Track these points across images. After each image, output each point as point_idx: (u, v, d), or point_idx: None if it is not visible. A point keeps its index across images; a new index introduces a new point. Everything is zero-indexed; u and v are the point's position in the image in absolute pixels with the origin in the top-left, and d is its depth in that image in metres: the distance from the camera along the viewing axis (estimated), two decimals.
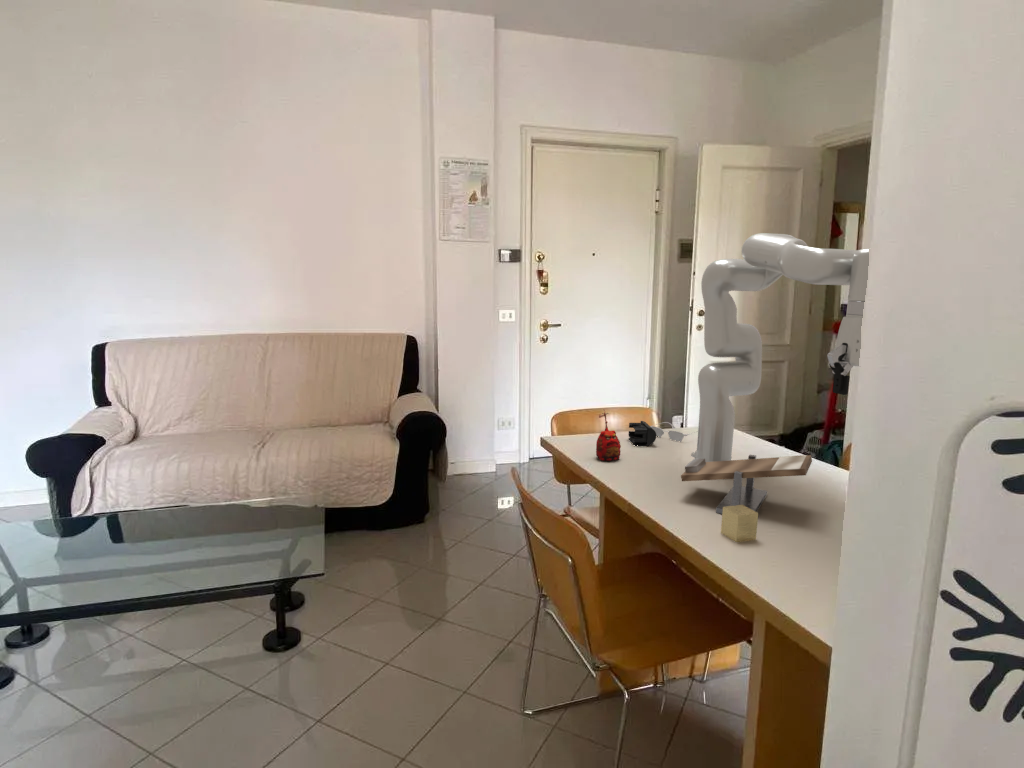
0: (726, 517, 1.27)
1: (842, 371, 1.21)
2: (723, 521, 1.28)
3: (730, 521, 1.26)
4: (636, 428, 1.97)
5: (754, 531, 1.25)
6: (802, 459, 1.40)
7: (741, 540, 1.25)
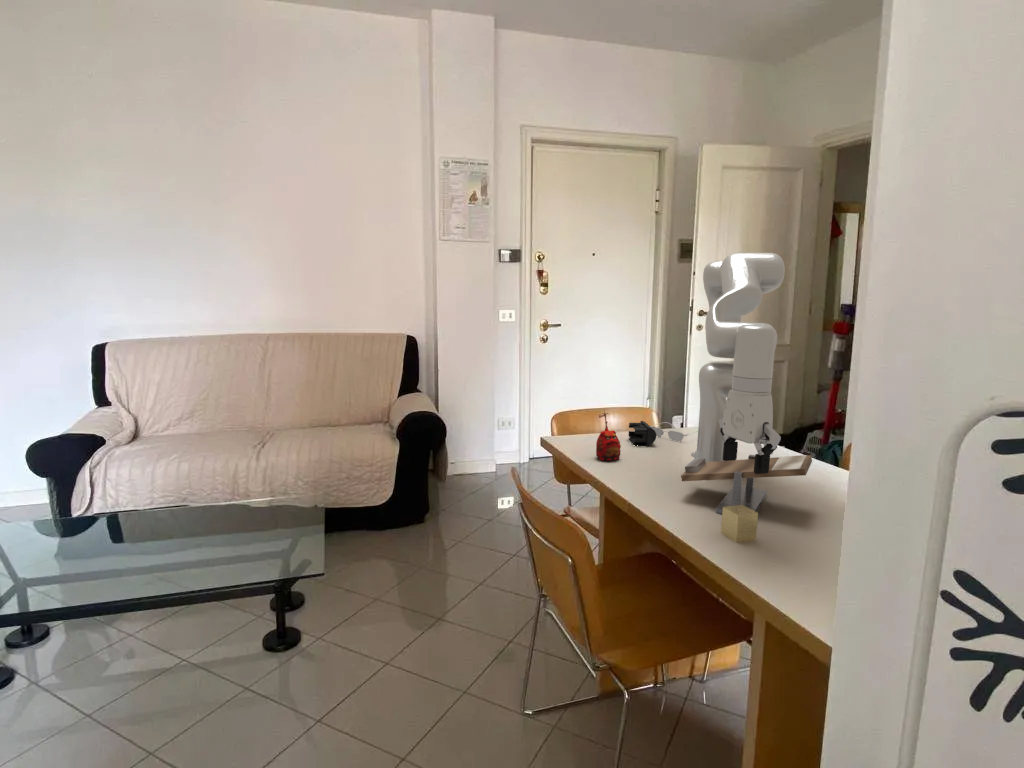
0: (726, 517, 1.27)
1: None
2: (723, 521, 1.28)
3: (730, 521, 1.26)
4: (636, 428, 1.97)
5: (754, 531, 1.25)
6: (802, 459, 1.40)
7: (741, 540, 1.25)
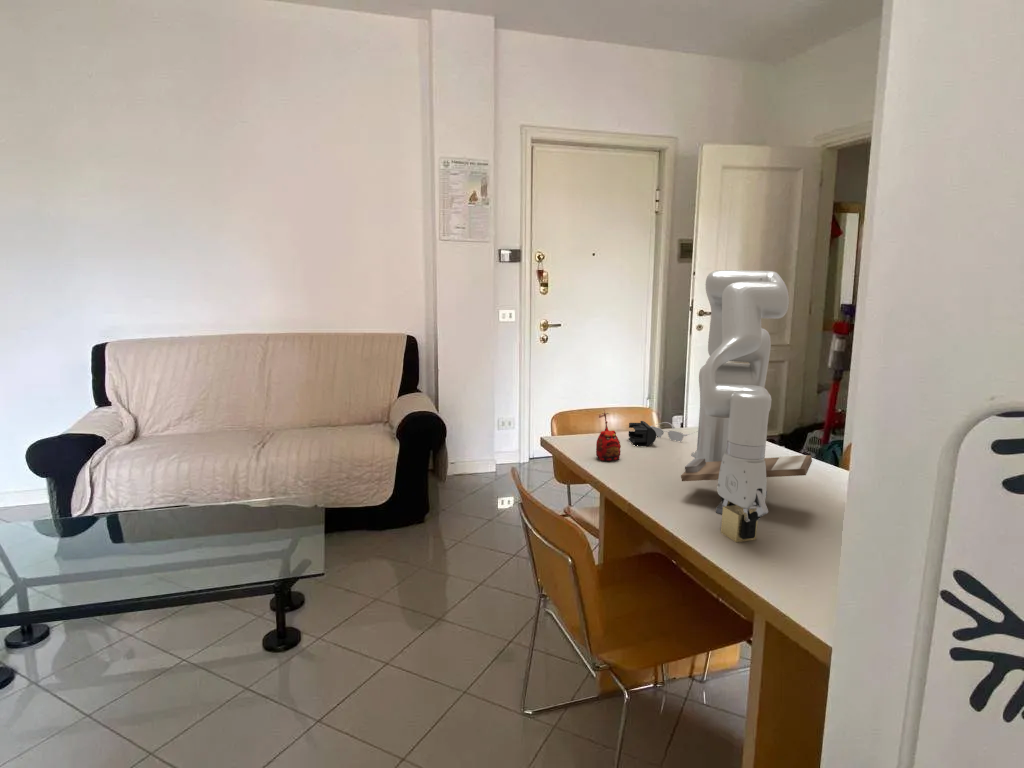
0: (726, 516, 1.27)
1: None
2: (723, 521, 1.28)
3: (730, 521, 1.26)
4: (636, 428, 1.97)
5: None
6: (802, 459, 1.40)
7: (741, 540, 1.25)
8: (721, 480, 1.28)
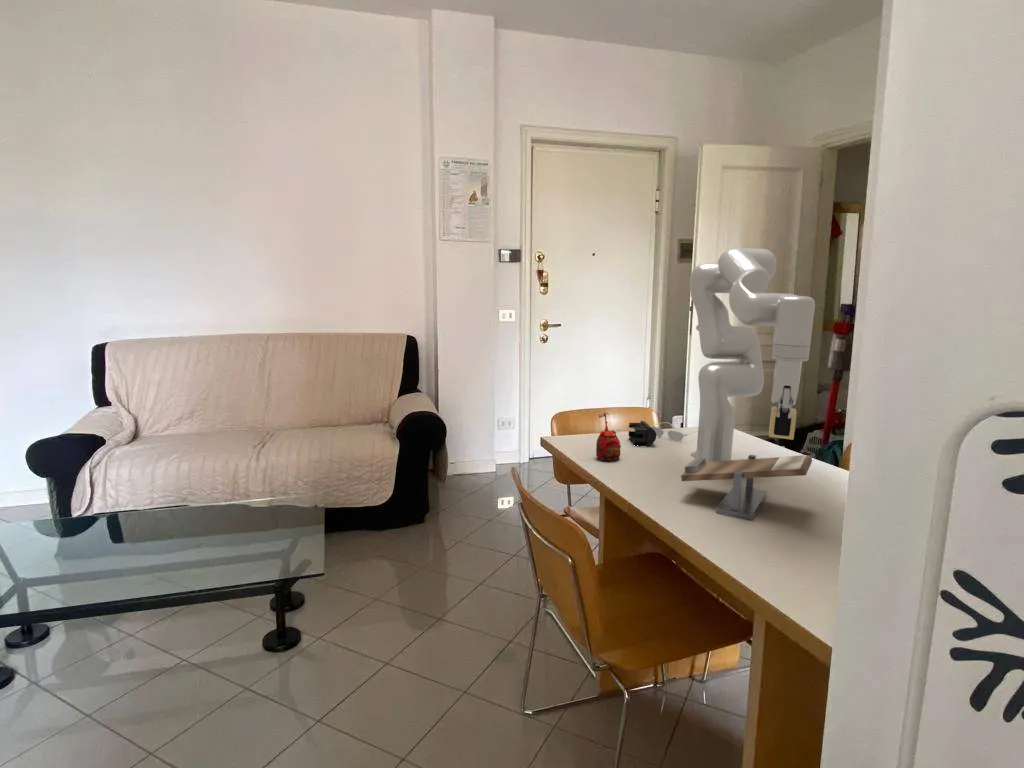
0: None
1: (789, 416, 1.30)
2: (770, 419, 1.37)
3: None
4: (636, 428, 1.97)
5: (791, 430, 1.32)
6: (802, 459, 1.40)
7: (775, 436, 1.33)
8: None
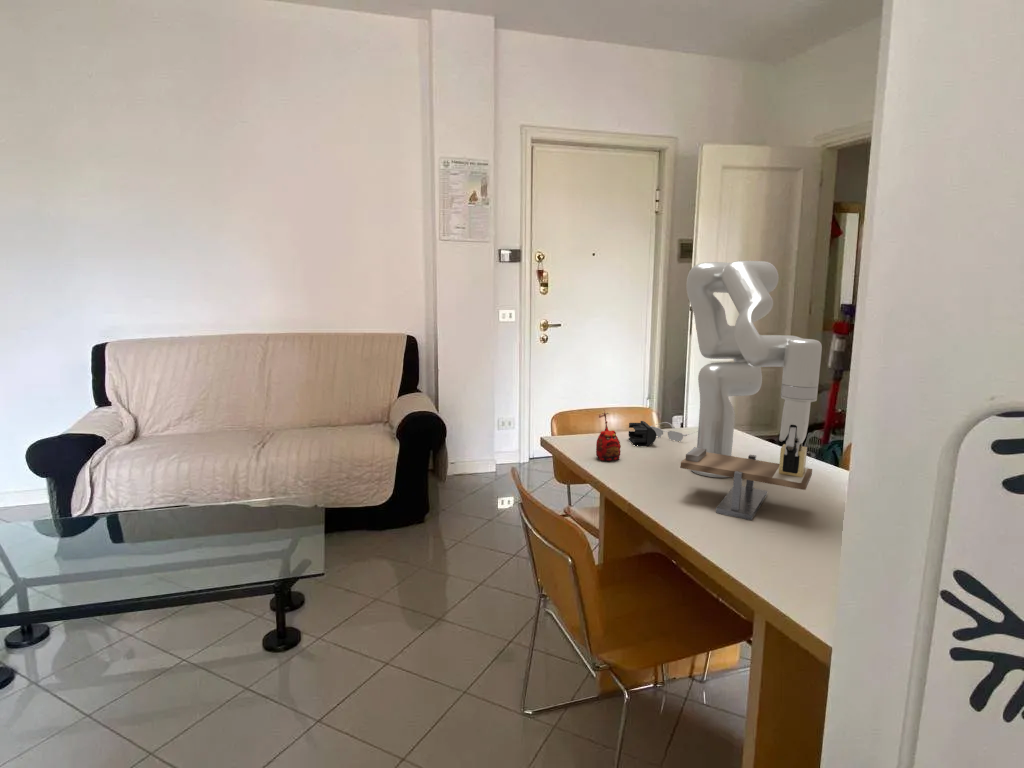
0: None
1: (796, 454, 1.35)
2: None
3: None
4: (636, 428, 1.97)
5: (800, 468, 1.36)
6: None
7: (784, 473, 1.38)
8: None
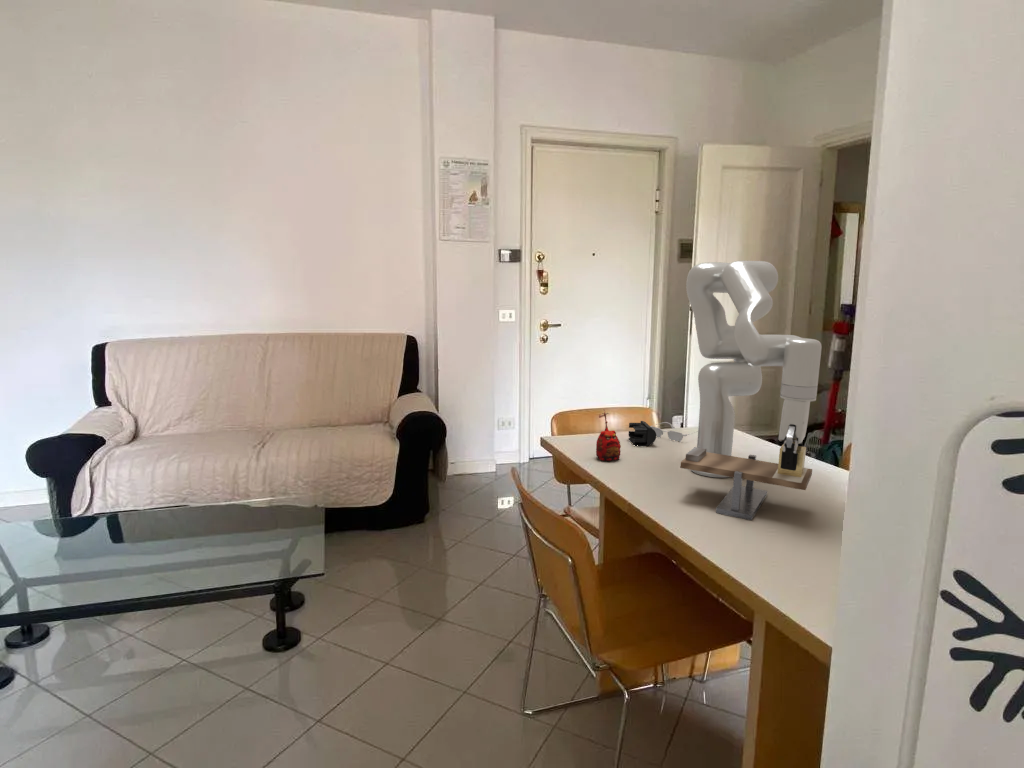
0: None
1: (794, 450, 1.33)
2: None
3: None
4: (636, 428, 1.97)
5: (799, 468, 1.36)
6: (803, 472, 1.40)
7: (783, 472, 1.38)
8: None
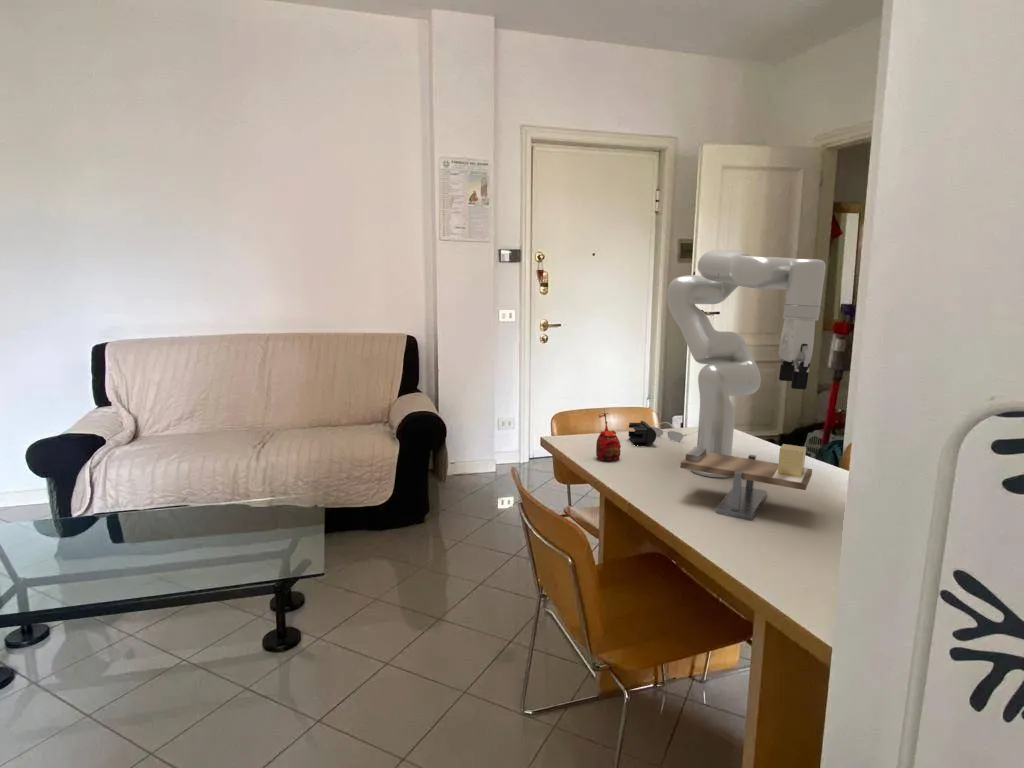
0: None
1: (808, 369, 1.36)
2: None
3: None
4: (636, 428, 1.97)
5: (799, 468, 1.36)
6: (803, 472, 1.40)
7: (783, 472, 1.38)
8: (781, 342, 1.44)
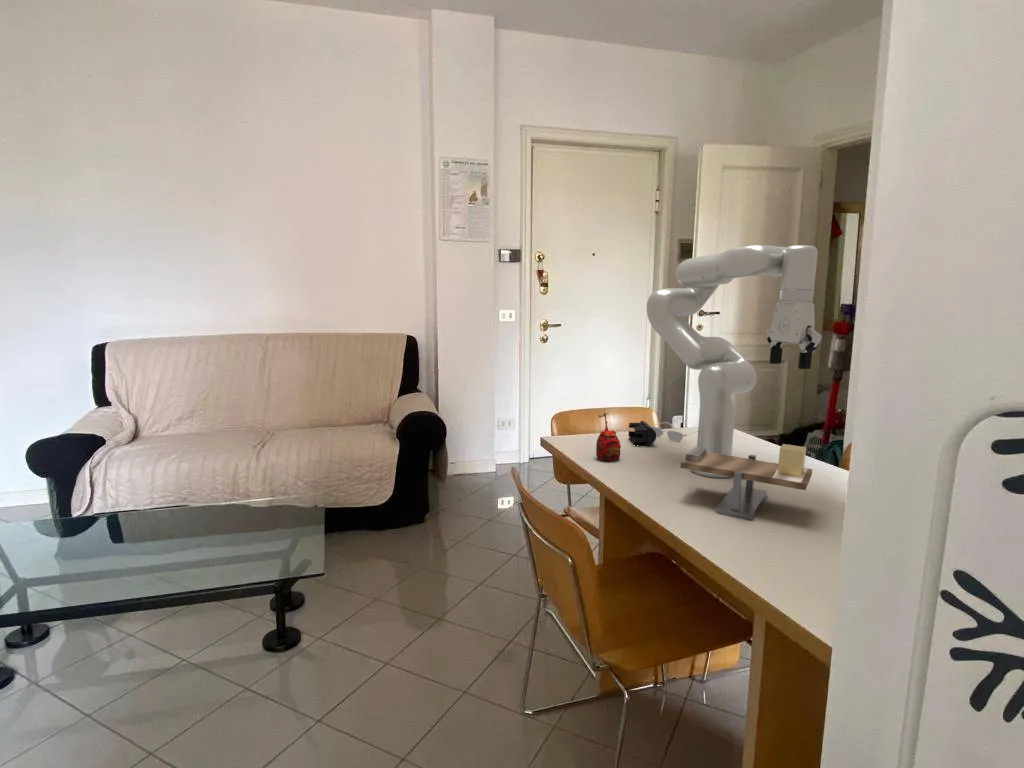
0: None
1: None
2: None
3: None
4: (636, 428, 1.97)
5: (799, 468, 1.36)
6: (803, 472, 1.40)
7: (783, 472, 1.38)
8: (774, 326, 1.50)
